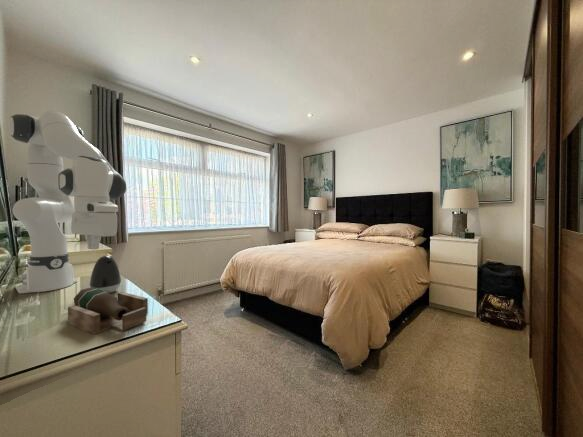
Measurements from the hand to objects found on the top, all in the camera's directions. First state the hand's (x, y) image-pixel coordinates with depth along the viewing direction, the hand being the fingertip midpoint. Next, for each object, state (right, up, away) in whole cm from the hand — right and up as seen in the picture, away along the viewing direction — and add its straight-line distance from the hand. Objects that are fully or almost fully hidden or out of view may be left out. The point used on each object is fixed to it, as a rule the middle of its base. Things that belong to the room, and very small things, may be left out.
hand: (93, 249), depth 78 cm
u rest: (+11, -21, -5) cm, 24 cm away
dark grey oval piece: (-12, -21, +20) cm, 31 cm away
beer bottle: (-4, -17, +2) cm, 17 cm away
